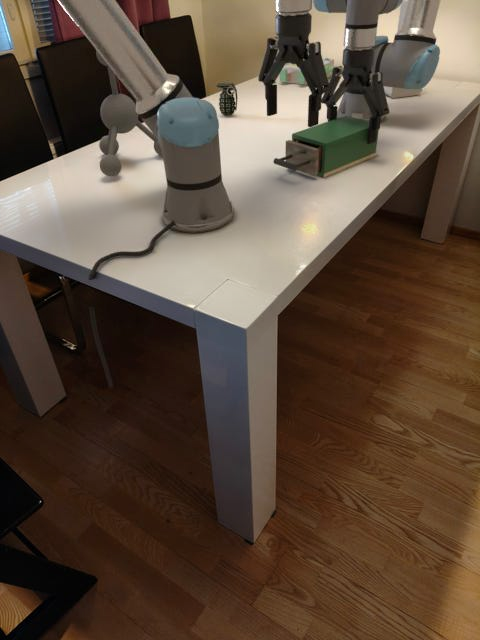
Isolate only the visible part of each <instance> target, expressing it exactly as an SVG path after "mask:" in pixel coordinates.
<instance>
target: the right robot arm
mask: <svg viewBox="0 0 480 640" xmlns="http://www.w3.org/2000/svg"><path fill="white" fill-rule="evenodd" d="M402 1H403V0H312V4H313V6H314V7H313V8H315V10H316V11H317V12H321V13H328V14H345V24H344V35H343V46H344V47H345V48H344V49H342V60H341V61H342V65H338V66H337V67H334V68H333V71H332V75H331V76H330V79H329V80H328V82H329V86H330V91H329V92H326V93H323V94H322V103H321V104H324V105H325V106H326V120H327V122H328V121H331V120H334V119H337V118H340V117H343V116H349V117H353V118H357V119H362V120H366V121H370V122H369V131H368V140H367V144H371V143H373V142H376V137H377V130H379V131H380V129H381V124H382V121H384V120H385V116H387V115H389V114H390V109H389V104H388V99H387V95H386V94H385V91H384V87H383V86H386V87H395V88H403V89H407V90H409V89H422V90H423V89H424V88H425V87H427V85H428V84H429V83H430V82H431V80H432V78H433V77H434V75H435V72H436V70H437V68H438V65H439V61H440V54H441V49H440V47H439V45H437V44H436V43H437V36H436V34H435V33H434V29H435V24H436V22H437V21H436V20H437V16H438V12H439V8H440V4H441V0H408V4H407V8H406V13H405V17H404V21H403V26H402V29H401V30H400V31H399V32H397V31H396V33H395V34H394V38H393V42H389V37H388V35H377V34H378V24H379V15H384V14H386V15H387V14H389V13H392V12H394V11H395V10H397V9H398V8H399V7H401V3H402ZM341 78H342V79H343V80H342V81H341ZM340 81H341V83H339V82H340ZM337 87H338V88H337ZM339 101H340V103H339V105H337V103H338V102H339Z"/></svg>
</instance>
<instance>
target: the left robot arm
mask: <svg viewBox="0 0 480 640" xmlns="http://www.w3.org/2000/svg"><path fill="white" fill-rule="evenodd" d="M57 1H58V3H59V4H60V6H61V7H62V8H63V10H64V11H65V12H66V13H67V15H69V17H70V18H71V19H72V21H73V22H74V24H76V26H77V27H78V28H79V29H80V31H81V32H82V33H83V35H84V36H85V37H86V39H87V40H88V42H89V43H90V44H91V45H92V47H93V48H94V49H95V51H96V50H97V51H98V52H99V54H100V55H101V56H102V58H103V59H104V60H105V61H106V63H107V64H108V65H109V66H110V68H111V69H112V70H113V72H114V73H115V76H116V77H117V78H118V79H119V80H120V82H121V83H122V85H123V86H124V87H125V88H126V89H127V91H128V92H129V93H130V95H131V96H132V97H133V99H134V100H135V105H136V112H137V114H138V117H139V118H140V119H141V120H142V121H143V122H144V125H145V126H147V128H148V129H149V130H150V131H151V132H152V133H153V134H154V135H155V137H156V138H157V140H158V142H159V144H160V147H161V149H162V154H163V156H162V159H163V168H164V174H165V180H166V190H165V191H166V192H165V196H164V203H163V207H162V218H163V222H164V224H165V226H164V227H163V228H162V229H161V230H160V231H159V232H157V233H156V234H155V235H154V236H153V237H152V238H151V240H150V242H149V245H148V247H147V248H145V249H143V250H139V251H123V250H121V251H116V252H111V253H109V254H106V255H104V256H102V257H101V258H99V259H98V260H97V261H96V262H94V265H93V266H92V268H91V271H90V273H89V275H88V281H92V280H94V278H95V276H96V274H97V271H98V269H99V268H100V266H101V265H102V263H104V262H107V261H108V260H111V259H114V258H117V257H141V256H145V255H147V254H149V253H151V252H152V251H153V250H154V248H155V244H156V242H157V241H158V240H159V238H161V237H162V236H163V235H164V234H165V233H167V232H168V231H169V230H170V229H171V230H173V231H177V232H180V233H190V234H191V233H192V234H193V233H194V234H195V233H196V234H197V233H205V232H206V233H207V232H210V231H215V230H216V229H220V228H222V227H224V226H226V225H227V224H228V223H230V221H231V220H232V218H233V216H234V212H233V211H234V205H233V202H232V200H231V199H230V197H229V195H228V192H227V190H226V187H225V184H224V182H223V175H222V174H223V173H222V161H221V159H222V158H221V147H220V146H221V145H220V133H219V131H220V130H219V129H220V122H219V118H218V114H217V109H216V108H215V106H214V105H213V104H212V103H211V102H210V101H208V100H205V99H201V98H199V97H194V96H193V95H192V93H191V92H190V91H189V89H188V88H187V87H186V85H185V84H184V82H183V81H182V79H181V78H180V76H179V75H176V74H171V73H167V71H166V70H165V68H164V67H163V65H162V64H161V63H160V61H159V59H158V58H157V57H156V55H155V54H154V53H153V51H152V50H151V48H150V47H149V46H148V44H147V43H146V41H145V40H144V39H143V37H142V36H141V35H140V33H139V32H138V30H137V29H136V27H135V25H133V23H132V21H131V20H130V19H129V17H128V16H127V15H126V13H125V11H124V10H123V9H122V8H121V6H120V4H119V3H118V2H117V0H57ZM274 4H275V5H274V7H275V8H274V9H275V10H274V11H275V12H276V13H277V15H275V36H273V37H268V38H267V39H266V50H265V53H264V57H263V60H262V64H261V67H260V70H259V74H258V79H257V80H258V82H260V83H261V82H262V84H263V86H264V97H265V101H266V116H267V117H271V116H276V115H277V114H278V84H277V79H278V77H280V72H281V70H282V69H283V67H284V66H285V64H286V63H290V64H296V65H297V67H298V68H300V70H301V72H302V74H303V76H304V78H305V80H306V82H307V84H306V85H307V86H308V89H309V91H310V94H309V95H308V109H307V128H311V127H314V126H316V125H319V122H320V121H319V119H320V118H319V117H320V111H321V110H322V104H323V103H322V97H323V95H324V93H326V92H329V91H330V86H329V78H327V74H326V71H325V67H324V63H323V59H324V58H323V56H322V43H321V41H319V40H318V41H314V42H310V39H309V38H310V35H311V32H312V21H313V19H312V17H313V15H312V14H311V13H310V12H311V11H312V10H313V0H275V3H274ZM322 58H323V59H322ZM88 308H89V309H88V310H89V317H90V323H91V328H92V332H93V333H92V334H93V338H94V341H95V345H96V348H97V352H98V354H99V357H100V360H101V361H100V362H101V363H102V367H103V370H104V373H105V377H106V380H107V383H108V387H109V388H110V389H111V388H113V387H114V383H113V380H112V376H111V372H110V370H109V369H110V368H109V365H108V362H107V359H106V356H105V353H104V350H103V346H102V343H101V339H100V335H99V331H98V326H97V320H96V314H95V313H96V312H95V307H91V306H88Z"/></svg>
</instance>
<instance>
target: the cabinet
mask: <svg viewBox="0 0 480 640" xmlns="http://www.w3.org/2000/svg"><path fill="white" fill-rule="evenodd" d="M369 122H370V121H366V120H362V119H357V118H353V117H349V116H343V117H340V118H337V119H334V120H331V121H328V120H327V121H326V122H322V123H320V124H319V123H318V125H315V126H312V127H307V128H305V129H302V130H299V131H295V132H293V133H291V141H294V142H296V140H301V141H304V142H308V143H311V144H314V145H318V146H321V147H323V149H322V167H321V170H320V171H319V170H318V175H317V176H318V177H321V178H327V177H329V176H332V175H334V174H336V173H339V172H342V171H343V170H345V169H349V168H350V167H352V166H355V165H357V164H360V163H362V162H364V161H367V160H369V159H372V158H374V157H376V156H377V146H378V137H379V131H380V129H379V130H377V137H376V142H373V143H371V144H367V140H368V131H369Z"/></svg>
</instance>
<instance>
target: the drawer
mask: <svg viewBox="0 0 480 640" xmlns="http://www.w3.org/2000/svg"><path fill="white" fill-rule="evenodd" d="M322 149H323V147H321V146H318V145H314V144H311V143H308V142H304V141H301V140H296V142H294V141H292V139H291V140H290V139H288V140H285V155H284V156H283V157H280V158H277V157H275V158H274V159H273V161H272V162H273V164H274V165H276V166H280V167H283V168H285V169H289V170H291V171H294V172H296V171H299V172H301V173H304V174H307V175H310V176H313V177H316V176H318V170H319V171H320V170H321V167H322Z"/></svg>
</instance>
